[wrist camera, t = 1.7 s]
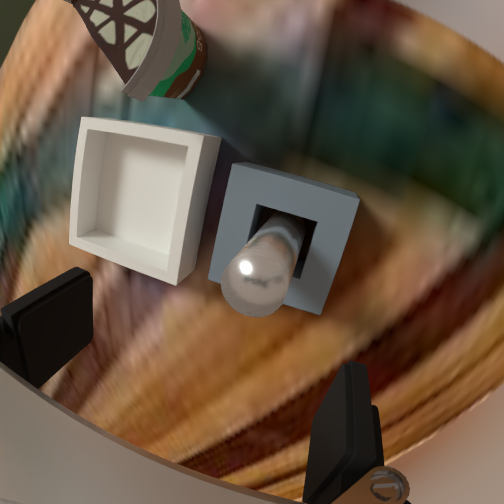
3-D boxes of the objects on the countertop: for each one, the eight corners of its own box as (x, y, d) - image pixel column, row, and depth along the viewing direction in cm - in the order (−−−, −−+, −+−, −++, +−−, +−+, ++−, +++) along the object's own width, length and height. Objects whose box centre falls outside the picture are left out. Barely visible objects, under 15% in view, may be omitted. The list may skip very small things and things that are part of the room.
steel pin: (310, 216, 26) (294, 267, 15) (299, 252, 27) (276, 325, 16) (272, 205, 26) (228, 246, 15) (262, 241, 27) (215, 304, 16)
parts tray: (221, 137, 25) (203, 135, 22) (195, 269, 30) (176, 285, 26) (108, 118, 27) (81, 116, 23) (94, 233, 31) (69, 243, 28)
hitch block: (355, 192, 24) (359, 199, 21) (322, 293, 27) (320, 315, 24) (246, 161, 26) (232, 163, 22) (223, 262, 29) (207, 279, 25)
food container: (250, 68, 23) (206, 27, 14) (192, 112, 25) (124, 98, 16) (176, -15, 22) (119, -62, 12) (128, 25, 24) (59, -4, 15)
